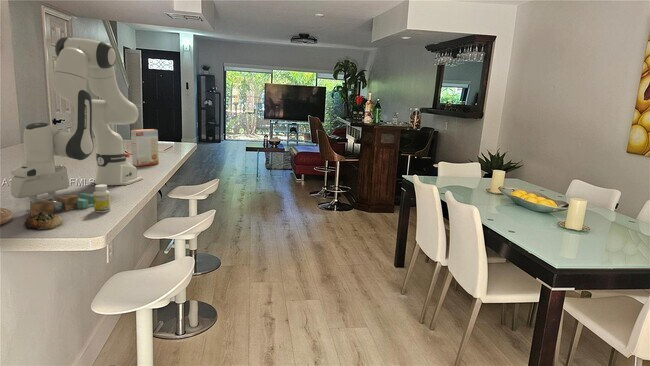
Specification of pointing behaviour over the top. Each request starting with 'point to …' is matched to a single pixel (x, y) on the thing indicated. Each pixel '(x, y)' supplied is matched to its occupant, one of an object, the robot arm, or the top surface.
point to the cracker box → (144, 147)
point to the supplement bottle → (101, 198)
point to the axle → (57, 205)
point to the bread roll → (42, 221)
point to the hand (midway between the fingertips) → (43, 204)
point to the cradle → (85, 200)
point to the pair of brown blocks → (48, 207)
